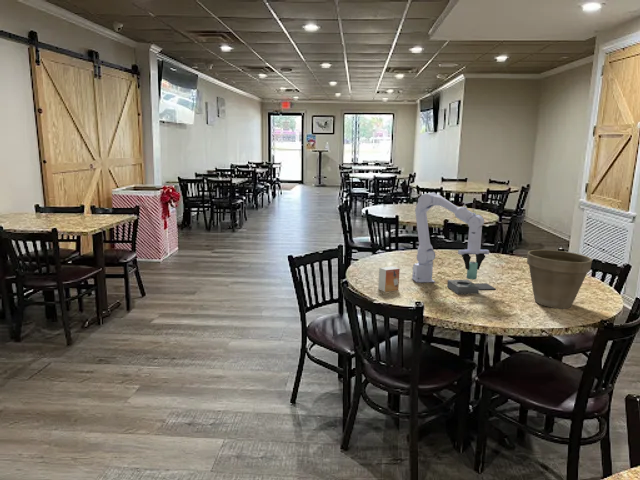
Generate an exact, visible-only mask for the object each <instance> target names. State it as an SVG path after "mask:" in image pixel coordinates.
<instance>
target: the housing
mask: <svg viewBox="0 0 640 480" xmlns="http://www.w3.org/2000/svg"><path fill="white" fill-rule="evenodd" d="M476 284H477V283H473V282H472V281H470V279H448V280H447V286H446V287H447V288H448V289H450V290H451V291H453V292H454V293H455V294H457V295H479V291H480V290H479V286H477V285H476Z"/></svg>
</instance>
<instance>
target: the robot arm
mask: <svg viewBox="0 0 640 480" xmlns="http://www.w3.org/2000/svg"><path fill="white" fill-rule="evenodd" d="M434 206H440V207H442V208H444V209H446V210H448V211H450V212H451V213H453V215H454V217H455V218H456V219H459V220H460V221H462V222H463V223H465V224H467V226H468V237H467V238H468V239H467V249H466V248H465V249H458V250H457V255H459V256H461V257H462V259H463V261H464V266H465V267H464V269H465V270H466V271H467V270H469V263H470V262H471V259H472V257H471V256H470V255H475V262H477V263H478V267H477V271H478V270H480V267H481V265H482V263H483V261H484V259H485V258H486V255H490V250H489V249H481V248H482V247H481V243H482V234H483V233H482V230H483V225H484V223H485V219H484V218H483V216H482V215H481V214H476V212H473V211H471V210H469V209H468V207H467V206H458V205H456V204H454V203H452V202H451V201H449V200H448V199H446V198H445V197H443V196H442V195H441V194H438V193H436V192H428V193H423V194H421V195H420V196H419V197H418V198H417V203H416V207H415V209H414V213H415V218H416V219H415V220H416V222H415V223H416V227H417V235H418V236H417V237H418V248H417V254H416V260H417V263H413V265H412V277H411V279H412V280H413V281H414V282H415V283H435V282H436V281H435V280H434V279H433V270H434V269H433V267H434V260H435V259H436V252H435V250H434V248H433V245H432V244H431V239H430V231H429V230H430V229H429V223H428V216H427V212H429V210H430V209H431V208H432V207H434Z"/></svg>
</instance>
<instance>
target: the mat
mask: <svg viewBox="0 0 640 480" xmlns="http://www.w3.org/2000/svg"><path fill="white" fill-rule="evenodd" d="M475 284H476V285H477V286H479V291H495V290H496V287H494V286H492V285H491V284H489V283H487V282H486V283H475Z"/></svg>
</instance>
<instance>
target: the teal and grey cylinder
mask: <svg viewBox="0 0 640 480" xmlns="http://www.w3.org/2000/svg"><path fill="white" fill-rule="evenodd" d="M477 267H478V263H477V262H476V261H473V260H472V261H471V260H470V263H469V270H467V269H466V280H477V277H478V276H477V275H478V270H477Z"/></svg>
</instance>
